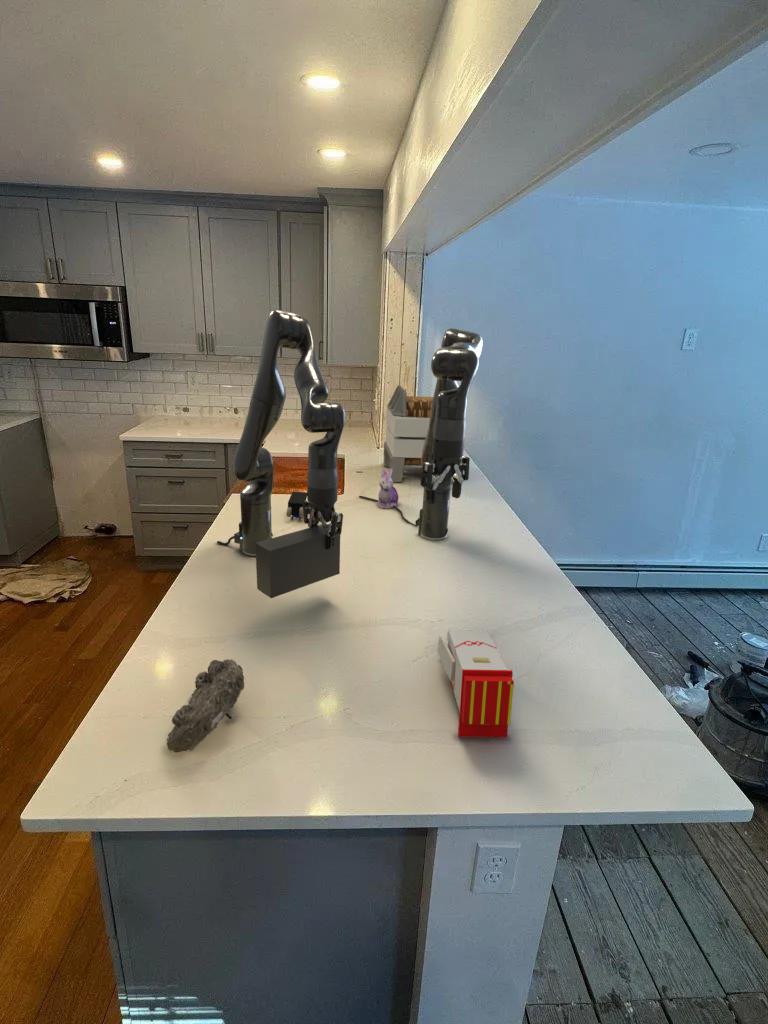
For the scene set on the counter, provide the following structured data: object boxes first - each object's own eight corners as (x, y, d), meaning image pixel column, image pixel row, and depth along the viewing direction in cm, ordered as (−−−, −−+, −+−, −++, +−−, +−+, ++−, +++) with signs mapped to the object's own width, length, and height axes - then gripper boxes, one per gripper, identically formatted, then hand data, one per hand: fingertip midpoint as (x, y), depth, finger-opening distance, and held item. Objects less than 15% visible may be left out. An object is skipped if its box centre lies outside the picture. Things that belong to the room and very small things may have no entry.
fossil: (192, 660, 117) (244, 628, 112) (224, 691, 120) (276, 661, 115) (142, 746, 98) (202, 712, 93) (182, 779, 101) (242, 748, 96)
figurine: (383, 510, 222) (384, 473, 217) (371, 502, 230) (372, 466, 225) (404, 507, 226) (406, 471, 221) (391, 499, 234) (393, 464, 229)
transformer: (382, 463, 289) (386, 382, 275) (445, 464, 293) (451, 384, 279) (390, 482, 257) (394, 392, 243) (460, 483, 261) (468, 394, 247)
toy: (488, 613, 130) (523, 677, 101) (484, 667, 133) (517, 744, 104) (435, 612, 130) (455, 676, 101) (432, 666, 133) (451, 743, 103)
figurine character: (304, 526, 206) (308, 508, 220) (304, 507, 203) (308, 490, 216) (286, 525, 206) (291, 507, 219) (285, 507, 203) (290, 489, 216)
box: (271, 598, 136) (269, 551, 132) (257, 589, 140) (255, 542, 136) (339, 573, 150) (340, 530, 146) (325, 565, 154) (325, 523, 150)
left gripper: (352, 487, 139) (350, 550, 144) (317, 474, 148) (316, 533, 154) (328, 493, 134) (327, 557, 140) (293, 478, 143) (293, 539, 149)
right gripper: (458, 430, 142) (452, 491, 147) (416, 436, 133) (412, 501, 139) (480, 435, 136) (474, 499, 142) (438, 442, 128) (433, 510, 133)
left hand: (321, 544), depth 147 cm, fingers closed on box, 6 cm apart
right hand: (443, 500), depth 140 cm, fingers open, 8 cm apart
